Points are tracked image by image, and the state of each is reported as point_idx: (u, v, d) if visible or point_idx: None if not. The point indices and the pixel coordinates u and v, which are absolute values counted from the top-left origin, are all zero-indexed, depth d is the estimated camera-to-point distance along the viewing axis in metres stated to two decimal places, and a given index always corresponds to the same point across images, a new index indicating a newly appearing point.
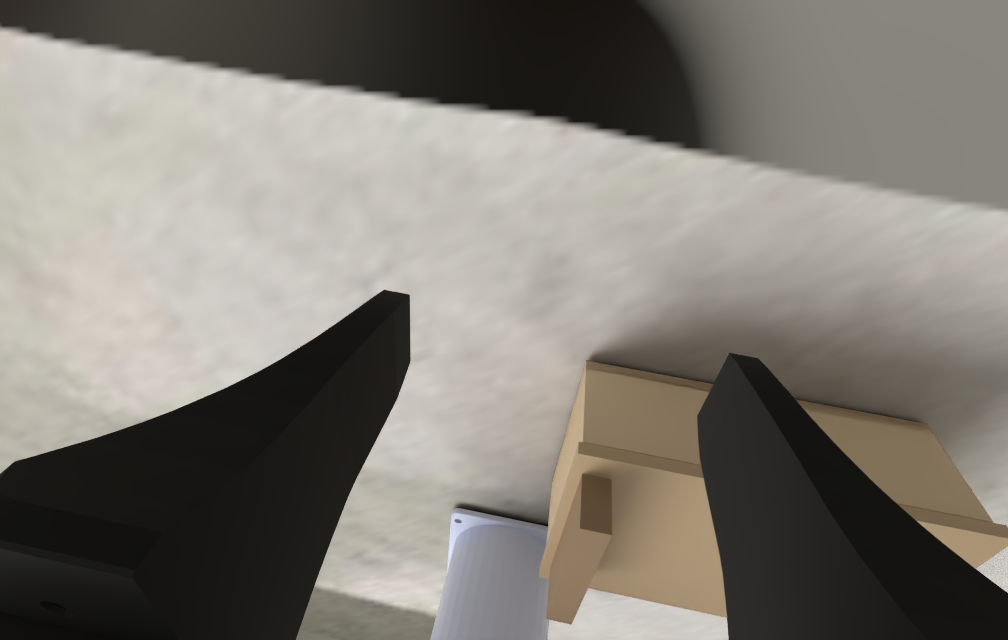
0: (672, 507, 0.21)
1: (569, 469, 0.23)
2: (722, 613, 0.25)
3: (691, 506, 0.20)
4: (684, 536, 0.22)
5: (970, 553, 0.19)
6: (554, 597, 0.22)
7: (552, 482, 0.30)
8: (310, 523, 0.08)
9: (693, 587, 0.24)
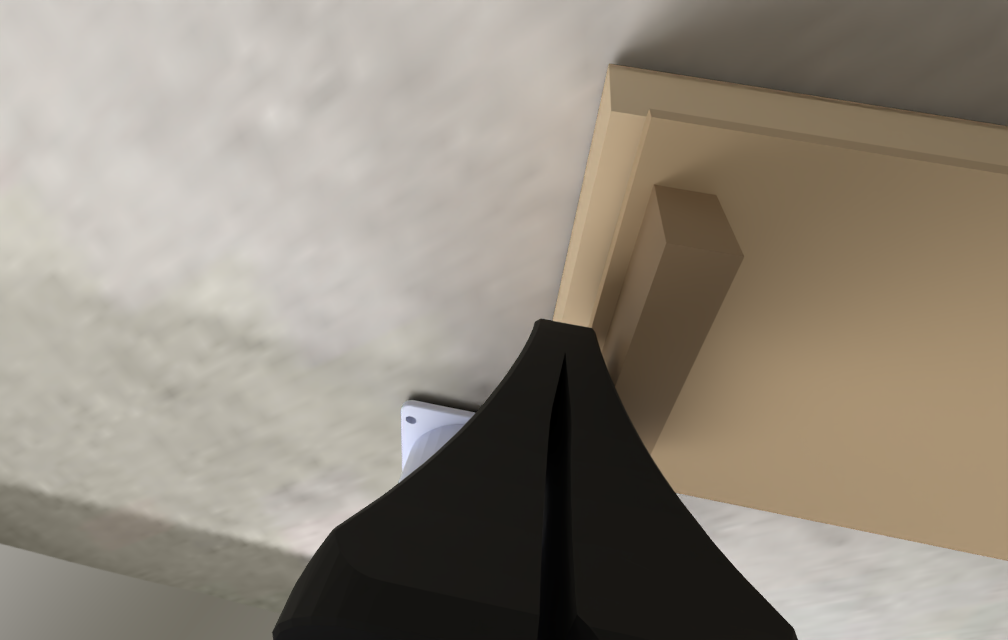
0: (835, 265, 0.10)
1: (579, 235, 0.12)
2: (869, 524, 0.14)
3: (880, 256, 0.10)
4: (844, 345, 0.11)
5: None
6: None
7: None
8: None
9: (829, 470, 0.13)
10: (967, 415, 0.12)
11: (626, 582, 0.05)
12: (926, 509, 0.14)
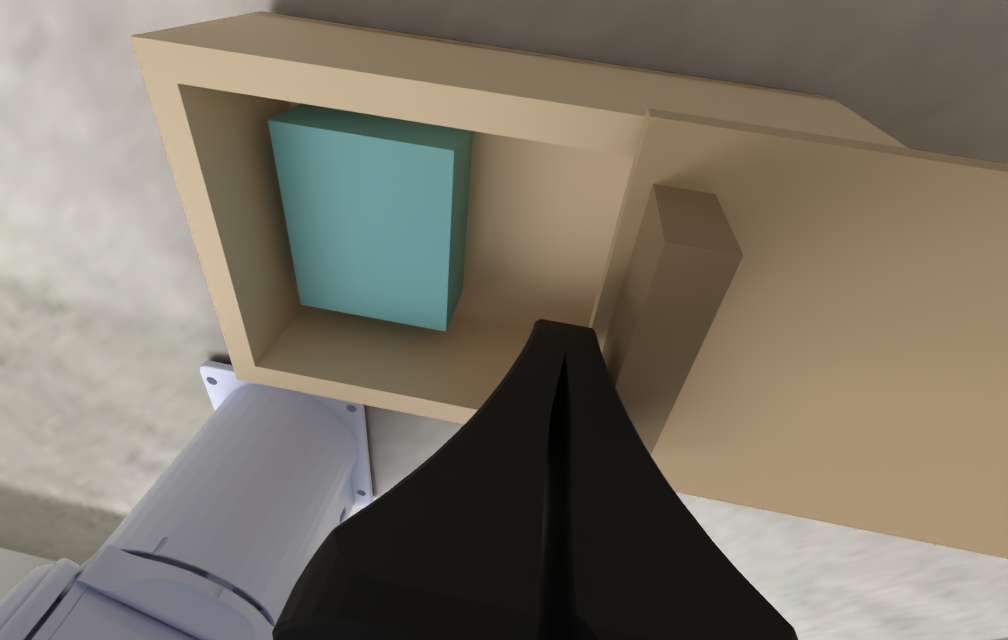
0: (835, 263, 0.10)
1: None
2: (872, 523, 0.14)
3: (879, 255, 0.10)
4: (844, 343, 0.11)
5: None
6: None
7: None
8: None
9: (832, 470, 0.13)
10: (968, 413, 0.12)
11: (626, 581, 0.05)
12: (928, 507, 0.14)
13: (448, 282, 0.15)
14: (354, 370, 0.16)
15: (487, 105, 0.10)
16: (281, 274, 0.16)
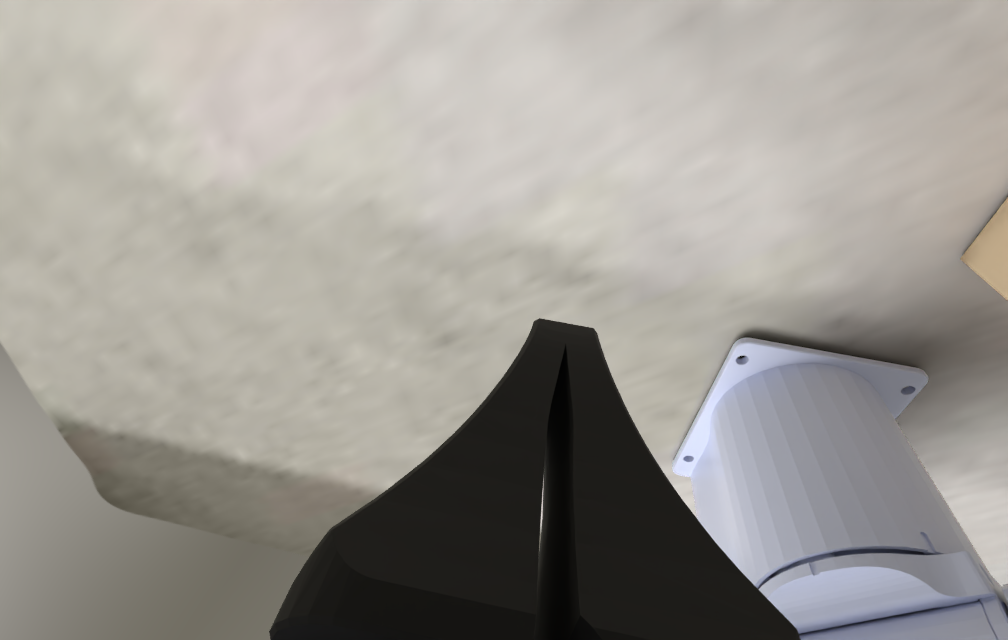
0: None
1: None
2: None
3: None
4: None
5: None
6: None
7: (965, 258, 0.18)
8: None
9: None
10: None
11: (629, 582, 0.05)
12: None
13: None
14: None
15: None
16: None
